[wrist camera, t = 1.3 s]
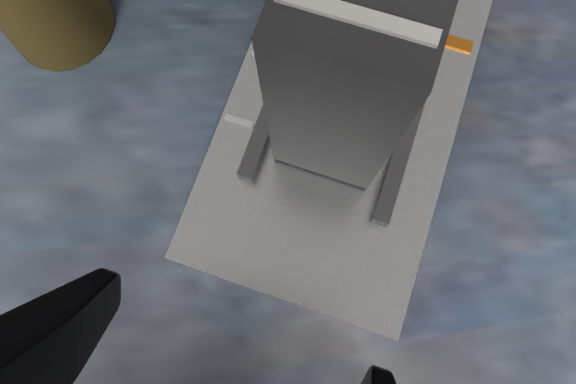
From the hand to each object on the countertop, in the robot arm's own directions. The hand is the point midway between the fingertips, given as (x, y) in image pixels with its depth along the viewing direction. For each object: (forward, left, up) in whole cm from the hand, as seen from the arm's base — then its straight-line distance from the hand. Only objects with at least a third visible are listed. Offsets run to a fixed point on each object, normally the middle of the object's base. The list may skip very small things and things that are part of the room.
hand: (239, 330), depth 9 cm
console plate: (+7, -8, -14) cm, 17 cm away
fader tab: (+6, -6, -12) cm, 15 cm away
